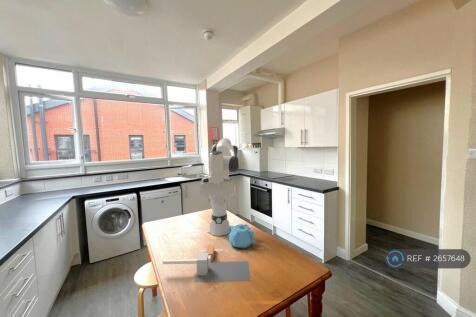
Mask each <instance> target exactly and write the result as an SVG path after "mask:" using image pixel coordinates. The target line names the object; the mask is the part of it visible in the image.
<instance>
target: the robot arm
mask: <svg viewBox="0 0 476 317" xmlns="http://www.w3.org/2000/svg"><path fill="white" fill-rule="evenodd" d="M238 155H239V148H238V146H237V145H234V144H233V145H232V142H231V139H229V138H227V137H223V138H221V139H220V140H219V141H218V142H216V143H214V144H213V145H212V146H211V152H210V153H209V159H208V168H209V172H208V173H209V174H208V176H205V177H202V178H201V183H200V185H199V195H200V196H205V198H206V199H207V203H210V204H211V217H210V218H211V219H210V221H209V228H208V229H207V230H206V231H207V232H206V233H208V234H210V235H212V236H216V237H218V236H225V235H229V227H230V226H231V225H230V221H229V220H228V213H227V200H228V197H233V196H234V195H235V193H236V191H237V188H236V186H235V182H236V181H235V180H234V179H232V178H229V177H230V172H231V173H235V172H237V171H238V170H239V169H240V167H241V166H240V160H239V156H238ZM221 197H225V198H223V200H222V199H221Z"/></svg>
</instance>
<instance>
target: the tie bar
mask: <svg viewBox="0 0 476 317" xmlns="http://www.w3.org/2000/svg"><path fill="white" fill-rule="evenodd" d="M211 262H212V260H211V255H208V259H207V263H208V264H210V263H211ZM191 264H192V265H193V264H194V265H197V258H184V259H183V258H181V259H179V258H178V259H163V260H162V265H191Z"/></svg>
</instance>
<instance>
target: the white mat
mask: <svg viewBox="0 0 476 317" xmlns="http://www.w3.org/2000/svg"><path fill="white" fill-rule="evenodd" d="M206 250H207V249H200V250H199V253H202V252H206ZM215 251H217V252H218V251H219V252H220V251H224V249H223V248H222V249H215V248H214V252H215Z"/></svg>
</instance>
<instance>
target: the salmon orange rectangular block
mask: <svg viewBox="0 0 476 317" xmlns="http://www.w3.org/2000/svg"><path fill="white" fill-rule="evenodd" d="M205 250H206V251H205V253H208V255H211V261H213V260H214V254H215V251H214V250H215V244H207V247H206V249H205Z"/></svg>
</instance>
